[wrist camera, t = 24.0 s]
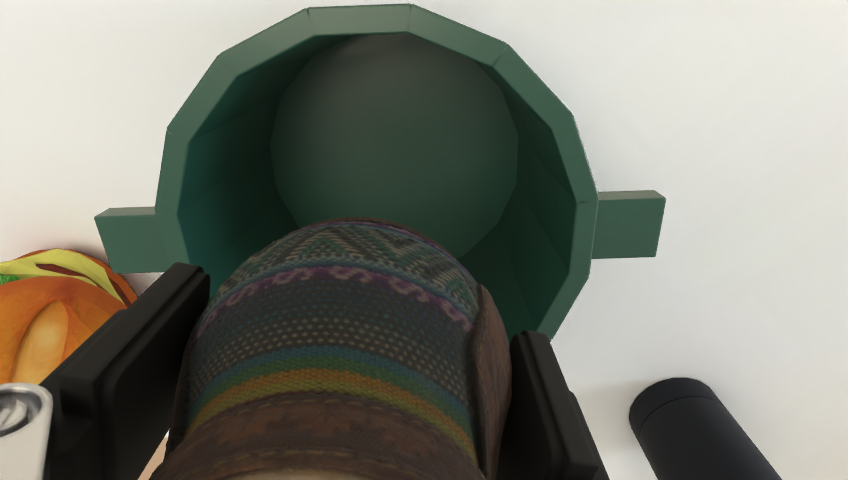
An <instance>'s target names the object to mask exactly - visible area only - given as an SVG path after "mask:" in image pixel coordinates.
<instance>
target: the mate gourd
mask: <svg viewBox="0 0 848 480" xmlns="http://www.w3.org/2000/svg"><path fill="white" fill-rule="evenodd" d="M468 271H469V270H468ZM468 271H467V269H466V268H465V267H463V266H462V265H461V264H460V263H459V262H458V261H457V260H456V259H455V257H454V256H452V255H451V254H450V253H449V252H448V250H446V249H445V248H443V247H442V246H441V245H439V244H438V243H437V242H435V241H434V240H433V239H431V238H429V237H427V236H426V235H423V234H422V233H420V232H419V231H417V230H415V229H412V228H409V227H408V226H406V225H404V224H399V223H395V222H392V221H389V220H386V219H382V218H370V217H343V218H334V219H329V220H324V221H320V222H318V223H314V224H310V225H307V226H305V227H302V228H300V229H298V230H296V231H292V232H290V233H289V234H288V235H284V236H283V238H281V239H278V240H277V241H276V242H275V241H273V243H271V244H269V245H268V246H266V248H264V249H263V250H261V251H259V252H257V253H254V254H253V256H250V258H249V259H248V260H246V261H245V262H243V263H242V264H241V265H240V266H239V267H238V269H237V270H236V271H235V272H234V273H233V274H232V276H231V277H228V278H227V279H226V280H225V281H224V283H223V284H222V285H221V286H220V288H219V289H218V291H216V292H215V294H214V295H213V296H212V298H211V299H209V302H208V304H207V307H206V308H205V310H204V311H203V313H202V314H201V316H200V317H197V318H196V320H195V321H196V324H195V325H194V326H193V330H192V332H191V334H190V337H189V338H188V342H187V345H186V346H185V351H184V352H183V357H182V359H183V360H182V366H181V369H180V374H179V378H178V384H177V388H176V393H175V400H174V408H173V414H172V416H171V425H170V430H169V437H168V441H167V443H166V451H165V456H164V460H163V462H162V463H161V464H160V465H159V466H158V467H157V468H156V470H155V471H154V472H153V473H152V475H151V477H150V478H149V480H496V473H497V467H498V458H499V453H500V447H501V440H502V435H503V430H504V426H505V422H506V418H507V414H508V410H509V406H510V403H511V397H512V386H511V384H512V364H511V357H510V352H509V341H508V337H507V333H506V330H505V327H504V323H503V321H502V318H501V316H500V314H499V311H498V309H497V307H496V305H495V304H494V301H493V298H492V297H491V294H490V293H489V292H488V290H487V289H486V288H485V287H484V286H482V285H481V284H479V285H478V284H477V283H476V281H475V280H474V279H473V277H472V276H471V274H470V273H469V272H468Z"/></svg>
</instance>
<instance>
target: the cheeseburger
mask: <svg viewBox="0 0 848 480" xmlns="http://www.w3.org/2000/svg"><path fill="white" fill-rule="evenodd" d="M137 298H138V297H137V296H136V295H135V293H134V292H133V290H132V289H131V288H130V286H129V285H128V283H127V282H126V281H125V279H124V278H123V277H121V276H120V275H119V274H114V273H113V271H112V269H111V268H110V267H108V266H107V265H106V264H104V263H103V262H102V261H100V260H98V259H95V258H93V257H90V256H87V255H84V254H82V253H79V252H76V251H74V250H62V249H56V248H55V249H52V250H39V251H35V252H31V253H29V254H26V255H24V256H21V257H19V258H17V259H14V260H12V261H7V262H2V263H0V385H1V384H5V383H19V382H24V383H31V384H37V385H39V384H40V383H41V382H42V381H43V380H44V379H45V378H46V377H47V376H48V375H49V374H50V373H51V372H52V371H54V370H55V369H56V368H57V367H58V366H59V365H60V364H61V363H62V362H63V361H64V360H65V359H66V358H67V357H68V356H70V355H71V354H72V353H73V352H74V351H75V350H76V349H77V348H78V347H79V346H80V345H81V344H82V343H83V342H85V341H86V340H87V339H88V338H89V337H90V336H91V335H92V334H93V333H94V332H95V331H96V330H97V329H98V328H99V327H101V326H102V325H103V324H104V323H105V322H106V321H107V320H108V319H109V318H110V317H111V316H112V315H113V314H114V313H116V312H117V311H119V310H121V309H127V308H128V307H129V306H130V305H131V304H132V303H133V302H134V301H135V300H136V299H137Z"/></svg>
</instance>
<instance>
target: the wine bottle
mask: <svg viewBox="0 0 848 480" xmlns="http://www.w3.org/2000/svg"><path fill="white" fill-rule="evenodd" d="M629 421H630V425H631V428H632V430H633V432H634V434H635V436H636V438H637V440H638V442H639V444H640V446H641V447H642V450H643V452H644V453H645V455H646V457H647V459H648V461H649V463H650V465H651V467H652V469H653V471H654V473H655V475H656V477H657V479H658V480H782V479H781V477H780V476H779V475H778V474H777V472H776V471H775V470H774V469H773V467H772V466H771V465H770V463H769V462H768V461H767V460H766V458H765V457H764V456H763V455H762V453H761V452H760V451H759V450H758V448H757V447H756V446H755V444H754V443H753V442H752V441H751V439H750V438H749V437H748V436H747V434H746V433H745V432H744V431H743V429H742V428H741V427H740V425H739V424H738V423H737V422H736V420H735V419H734V418H733V417H732V415H731V414H730V413H729V411H728V410H727V409H726V408H725V406H724V405H723V404H722V403H721V401H720V400H719V399H718V398H717V396H716V395H715V394H714V392H713V391H712V390H711V389H710V387H708V386H707V385H705V384H703V383H702V382H700V381H697V380H693V379H689V378H672V379H669V380H665V381H661V382H658V383H656V384H654V385H653V386H651V387H649V388H647V389H646V390H645V391H643V392H642V393H641V394H640V395H639V396H638V397H637V398H636V400H635V401H634V403H633V405H632V406H631V409H630V414H629Z"/></svg>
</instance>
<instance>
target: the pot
mask: <svg viewBox="0 0 848 480" xmlns="http://www.w3.org/2000/svg"><path fill="white" fill-rule="evenodd" d="M665 203H666V198H665V197H663V196H662V195H661V194H659V193H658V192H656V191H655V190H644V191H613V192H598V191H597V188H596V185H595V182H594V179H593V175H592V172H591V169H590V166H589V163H588V160H587V157H586V153H585V150H584V147H583V144H582V141H581V138H580V135H579V132H578V128H577V125H576V122H575V119H574V116H573V115H572V113H571V112H570V111H569V109H568V108H567V107H566V106H565V105H564V104H563V103H562V102H561V101H560V100H559V99H558V98H557V96H556V95H555V94H554V93H553V92H552V91H551V90H550V89H549V88H548V87H547V86H546V85H545V83H544V82H543V81H542V80H541V79H540V78H539V77H538V76H537V75H536V74H535V73H534V72H533V70H532V69H531V68H530V67H529V66H528V65H527V64H526V63H525V62H524V61H523V60H522V59H521V57H520V56H519V55H518V54H517V53H516V52H515V51H514V50H513V49H512V48H511V47H510V45H508V44H506V43H505V42H503V41H501V40H498V39H496V38H493V37H491V36H489V35H486V34H484V33H481V32H479V31H477V30H474V29H472V28H469V27H467V26H465V25H462V24H460V23H457V22H455V21H453V20H450V19H448V18H446V17H443V16H441V15H438V14H436V13H434V12H431V11H429V10H426V9H424V8H422V7H419V6H417V5H414V4H412V5H411V4H409V3H408V4H382V5H356V6H330V7H309V8H305V9H303V10H301V11H299V12H297V13H295V14H293V15H291V16H290V17H288V18H286V19H284V20H282V21H280V22H278V23H276V24H274V25H273V26H271V27H269V28H267V29H265V30H263V31H261V32H259V33H258V34H256V35H254V36H252V37H250V38H248V39H246V40H244V41H242V42H241V43H239V44H237V45H235V46H233V47H231V48H229V49H227V50H225V51H224V52H222V53H220V55H218V56H217V57H216V59H215V60H214V61H213V63H212V64H211V66H210V67H209V69H208V70H207V71H206V73H205V74H204V76H203V77H202V78H201V80H200V81H199V83H198V84H197V86H196V87H195V88H194V90H193V91H192V93H191V94H190V96H189V97H188V98H187V100H186V101H185V103H184V104H183V105H182V107H181V108H180V110H179V111H178V113H177V114H176V115H175V117H174V118H173V120H172V121H171V123H170V124H169V125H168V127H167V131H166V137H165V143H164V150H163V157H162V163H161V170H160V177H159V184H158V190H157V197H156V204H155V207H130V208H109V209H107V210H106V211H104V212H102V213H100V214H99V215H97V216H95V217H94V219H95V222H96V225H97V228H98V231H99V234H100V237H101V240H102V243H103V245H104V248H105V251H106V254H107V257H108V260H109V263H110V266H111V269H112V271H113V273H114V274H118V273H150V272H166V271H167V270H168V269H169V268H170V267H171V266H172V265H173V264H174V263H176V262H181V263H186V264H191V265H196V266H201V267H202V268H203V270H204V273H206V274H209V275H210V280H211V281H210V299H211V298H212V296H213V295H214V294H215V292H216V291H218V289H219V288H220V286H221V285H222V284H223V283H224V281H225V280H226V279H227V278H228V277H231V276H232V274H233V273H234V272H235V271H236V270H237V269H238V267H239V266H240V265H241V264H242V263H243V262H245V261H246V260H248V259H249V258H250V256H253V254H254V253H257V252H259V251H261V250H263V249H264V248H266V246H268V245H269V244H271V243H273V241H275V242H276V241H277V240H278V239H281V238H283V236H284V235H288V234H289V233H290V232H292V231H296V230H298V229H300V228H302V227H305V226H307V225H310V224H314V223H318V222H320V221H324V220H329V219H334V218H343V217H370V218H382V219H386V220H389V221H392V222H395V223H399V224H404V225H406V226H408V227H409V228H412V229H415V230H417V231H419V232H420V233H422V234H423V235H426V236H427V237H429V238H431V239H433V240H434V241H435V242H437V243H438V244H439V245H441V246H442V247H443V248H445V249H446V250H448V252H449V253H450V254H451V255H452V256H454V257H455V259H456V260H457V261H458V262H459V263H460V264H461V265H462V266H463V267H465V268H466V269H467V271H468V270H469V271H468V272H469V273H470V274H471V276H472V277H473V279H474V280H475V281H476V283H477V284H478V285H479V284H481V285H482V286H484V287H485V288H486V289H487V290H488V292H489V293H490V294H491V297H492V298H493V301H494V304H495V305H496V307H497V309H498V311H499V314H500V316H501V318H502V321H503V323H504V327H505V330H506V333H507V337H508V341H509V345H510V342H511V340H512V337H513V335H514V334H520V333H521V332H522V331H523V330H529V331H534V332H539V333H544V334H546V335H547V337H548V339H549V341H551V339H553V337H554V335H555V334H556V332H557V330H558V329H559V327H560V325H561V323H562V322H563V320H564V318H565V317H566V315H567V313H568V312H569V310H570V308H571V307H572V305H573V303H574V301H575V300H576V298H577V296H578V295H579V293H580V291H581V290H582V288H583V286H584V284H585V283H586V281H587V279H588V277H589V276H588V275H589V273H590V266H591V259H604V258H636V257H655V256H656V251H657V246H658V240H659V235H660V230H661V224H662V219H663V214H664V208H665Z"/></svg>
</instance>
